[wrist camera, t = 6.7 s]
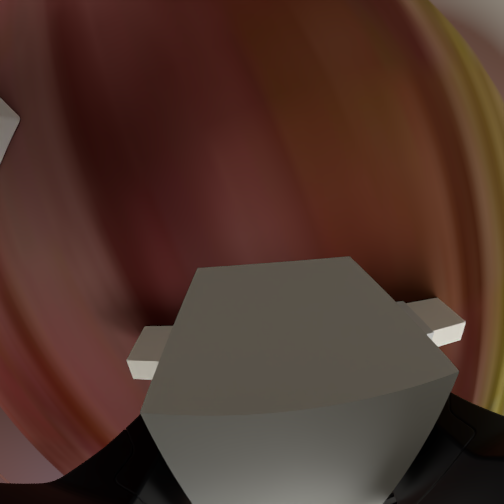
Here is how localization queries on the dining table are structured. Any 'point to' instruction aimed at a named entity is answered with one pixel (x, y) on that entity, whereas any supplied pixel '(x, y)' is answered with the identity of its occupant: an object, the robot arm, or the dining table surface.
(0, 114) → the medicine bottle
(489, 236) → the dining table surface
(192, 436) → the grey cube block
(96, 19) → the dining table surface
